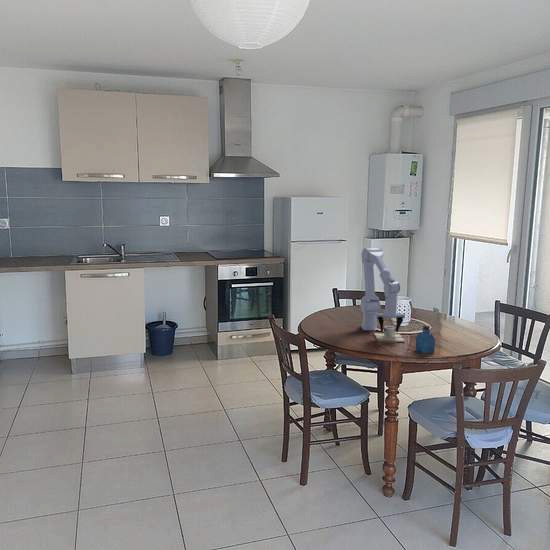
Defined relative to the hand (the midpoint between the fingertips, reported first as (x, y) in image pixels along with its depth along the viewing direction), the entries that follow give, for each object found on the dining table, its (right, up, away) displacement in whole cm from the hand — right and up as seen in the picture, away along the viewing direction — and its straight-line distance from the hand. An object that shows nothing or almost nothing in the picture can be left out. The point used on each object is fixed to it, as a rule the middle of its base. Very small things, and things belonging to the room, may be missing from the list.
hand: (389, 331), depth 270 cm
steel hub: (0, -3, 0) cm, 3 cm away
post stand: (0, -4, +1) cm, 4 cm away
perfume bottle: (+13, -7, -19) cm, 24 cm away
